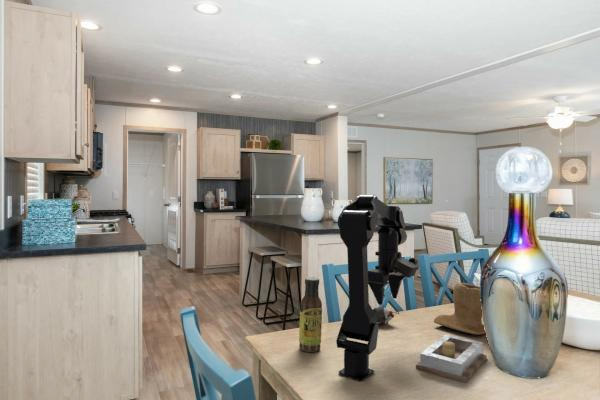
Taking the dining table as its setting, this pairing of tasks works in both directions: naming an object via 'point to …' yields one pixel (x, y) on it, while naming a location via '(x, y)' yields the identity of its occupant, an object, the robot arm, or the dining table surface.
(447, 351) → the plate
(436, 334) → the dining table surface
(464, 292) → the tan boot
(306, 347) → the sauce bottle
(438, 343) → the steel link
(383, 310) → the sundae
